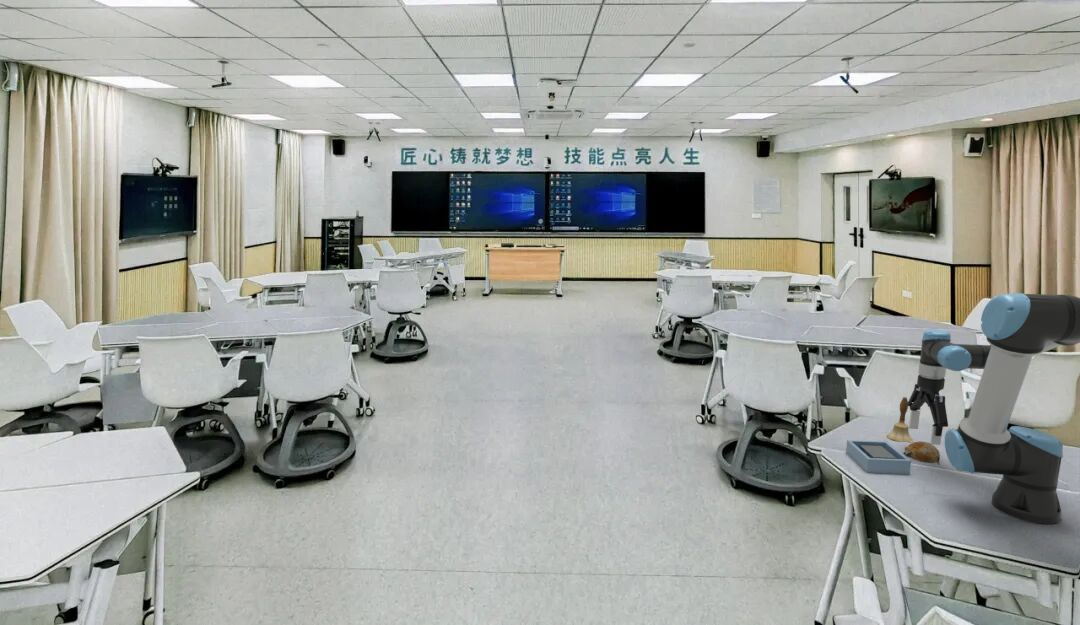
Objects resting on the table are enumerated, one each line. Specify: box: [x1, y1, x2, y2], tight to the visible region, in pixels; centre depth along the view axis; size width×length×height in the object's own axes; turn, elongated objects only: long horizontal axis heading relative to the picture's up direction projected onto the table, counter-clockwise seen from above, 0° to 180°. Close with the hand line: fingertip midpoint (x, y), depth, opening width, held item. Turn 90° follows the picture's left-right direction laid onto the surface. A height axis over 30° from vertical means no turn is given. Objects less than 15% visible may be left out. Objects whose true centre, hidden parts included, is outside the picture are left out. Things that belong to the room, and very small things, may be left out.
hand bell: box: [886, 396, 914, 443], centre depth 216 cm, size 8×8×16 cm
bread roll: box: [903, 440, 941, 465], centre depth 198 cm, size 10×10×8 cm
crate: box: [845, 439, 912, 475], centre depth 193 cm, size 16×13×6 cm
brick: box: [860, 445, 896, 459], centre depth 193 cm, size 10×7×4 cm
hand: (923, 436), depth 198 cm, fingers open, 13 cm apart
